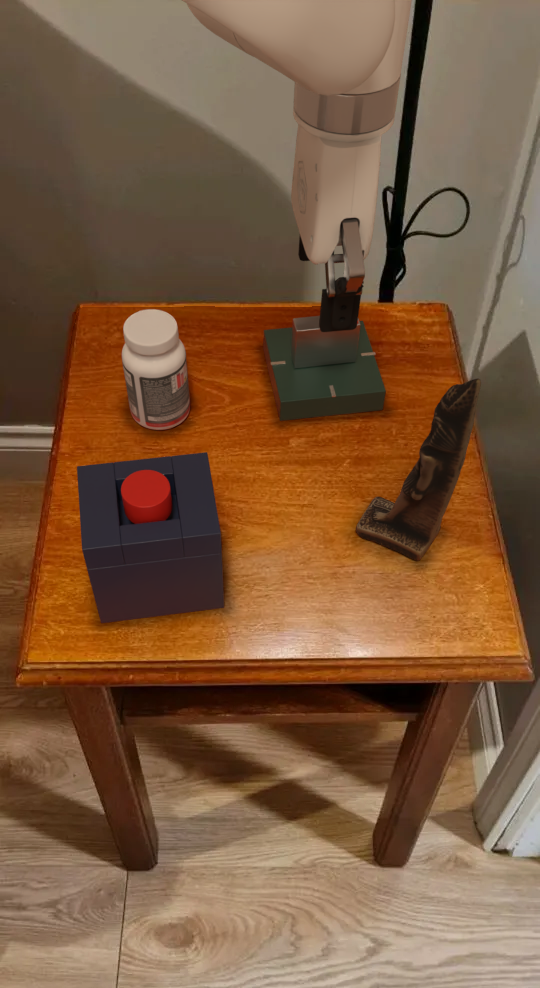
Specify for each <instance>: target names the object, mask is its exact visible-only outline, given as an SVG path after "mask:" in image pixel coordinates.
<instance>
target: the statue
mask: <svg viewBox="0 0 540 988" xmlns="http://www.w3.org/2000/svg"><path fill="white" fill-rule="evenodd" d="M481 388H482V381H481V378H474V379H470V380H468V381H465V382H463V383H457V384H454V385H451V387H449V388H448V389H447V390H446V392H445V393H444V395H442V397H441V399H440V400H439V402H438V403H437V404H436V406H435V408H434V411H433V418H432V420H431V424H430V431H429V433H428V435H427V436H426V438H425V439H424V441H423V442H422V444H421V445H420V448H419V452H418V453H419V454H418V455H419V457H418V460H417V461H416V463H415V464H414V465H413V467H412V469H411V471H410V472H409V473H408V475H407V476H406V477H405V479H404V481H403V484H402V487H401V489H400V492H399V494H398V497H397V498H396V499H395V502H393V501H391V500H389V499H386V498H384V497H381V496H375V497H374V498H372V500H371V502H369V504H368V506H367V508H366V509H365V510H364V513H362V515H361V517H360V519H359V521H358V522H357V524H356V527H355V532H356V534H357V535H358V536H359V537H360V538H362V539H364V540H367V541H370V542H373V543H376V544H379V545H381V546H383V547H385V548H387V549H390V550H392V551H395V552H398V553H399V554H401V555H404V556H405V557H408V558H410V559H411V560H414V561H417V562H418V561H421V560H422V558H423V557H424V556H425V554H426V552H427V551H428V550H429V548H430V547H431V545H432V544H433V542H434V540H435V539H436V538H437V536H438V534H439V533H440V531H441V529H442V528H441V524H442V521H443V520H442V519H443V517H444V515H445V513H446V511H447V509H448V506H449V504H450V501H451V498H452V496H453V494H454V491H455V488H456V486H457V483H458V481H459V477H460V476H461V471H462V469H463V466H464V464H465V460H466V455H467V451H468V448H469V443H470V440H471V435H472V432H473V428H474V422H475V418H476V413H477V407H478V401H479V396H480V392H481Z"/></svg>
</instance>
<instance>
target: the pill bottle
mask: <svg viewBox="0 0 540 988" xmlns="http://www.w3.org/2000/svg"><path fill="white" fill-rule="evenodd" d="M122 328H123V329H122V332H123V338H124V339H123V340H124V344H123V346H122V350H121V362H122V369H123V374H124V380H125V388H126V393H127V400H128V406H129V411H130V414H131V417H132V418H133V420H134V421H135V422H136V423H137V424H138V425H139V426H142V427H143V428H146V429H148V430H152V431H153V430H154V431H164V430H170V429H172V428H175V427H177V426H179V425H181V424H182V423H183V422H184V421H185V420H186V419H187V417H188V416H189V413H190V410H191V395H190V383H189V375H188V361H187V352H186V347H185V345H184V343H183V342H182V340H181V339H180V337H179V336H180V335H179V327H178V323H177V320H176V319H175V317H174V316H173V315H171V314H170V313H168V312H167V311H165V310H162V309H155V308H147V309H141V310H139V311H136V312H134V313H133V314H131V315H129V316H128V318H127V319H126V320H125V321H124V323H123V327H122Z"/></svg>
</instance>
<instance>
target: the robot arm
mask: <svg viewBox="0 0 540 988" xmlns="http://www.w3.org/2000/svg"><path fill="white" fill-rule="evenodd" d="M181 1H182V2H184V3H186V5H187V7H188V9H189V10H190V12H191V13H192V14H193V17H195V19H196V20H197V21H198V22H199V23H200V24H201V25H202V26H204V27H205V29H207V30H209V31H210V32H211V33H213V34H214V35H215V36H217V37H219V38H220V39H222V40H223V41H225V42H227V43H228V44H230V45H232V46H233V47H235V48H237V49H239V50H240V51H242V52H244V53H245V54H247V55H249V56H251V57H252V58H255V59H257V60H258V61H260V62H262V63H264V64H265V65H267V66H268V67H270V68H272V69H274V70H275V71H277V72H278V73H280V74H281V75H284V76H285V77H287V78H288V79H289V80H291V81H292V82H293V83H294V86H293V87H294V88H293V109H292V114H293V118H294V120H295V122H296V124H297V131H296V140H295V151H294V158H293V159H294V160H293V168H292V169H293V170H292V181H291V192H290V199H291V201H290V202H291V207H292V211H293V215H294V219H295V222H296V226H297V230H298V232H299V237H298V258H299V260H300V261H301V262H311V263H312V264H313V265H319V264H324V272H325V283H326V284H325V286H326V287H325V288H322V289H321V297H320V308H319V316H320V319H319V328H320V330H321V332H332V331H344V330H353V329H355V328H356V327H357V322H358V319H359V312H360V306H361V300H362V294H363V288H364V284H365V281H364V280H365V278H366V267H365V260H366V259H367V257H368V256H369V254H370V252H371V251H370V250H371V246H372V241H373V240H372V239H373V235H374V228H375V220H376V212H377V204H378V203H377V201H378V192H379V182H380V169H381V155H382V153H381V152H382V135H384V134H386V133H388V131H389V130H390V129H391V128H392V127H393V125H394V122H395V117H396V110H397V104H398V97H399V91H400V84H401V76H402V69H403V68H402V67H403V60H404V55H405V47H406V42H407V34H408V29H409V21H410V13H411V7H412V1H413V0H181ZM337 247H341V248H342V249H341V250H342V253H335V249H336V248H337ZM343 263H344V271H343V276H340V277H338V278H336V272H335V270H336V269H335V264H343Z"/></svg>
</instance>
